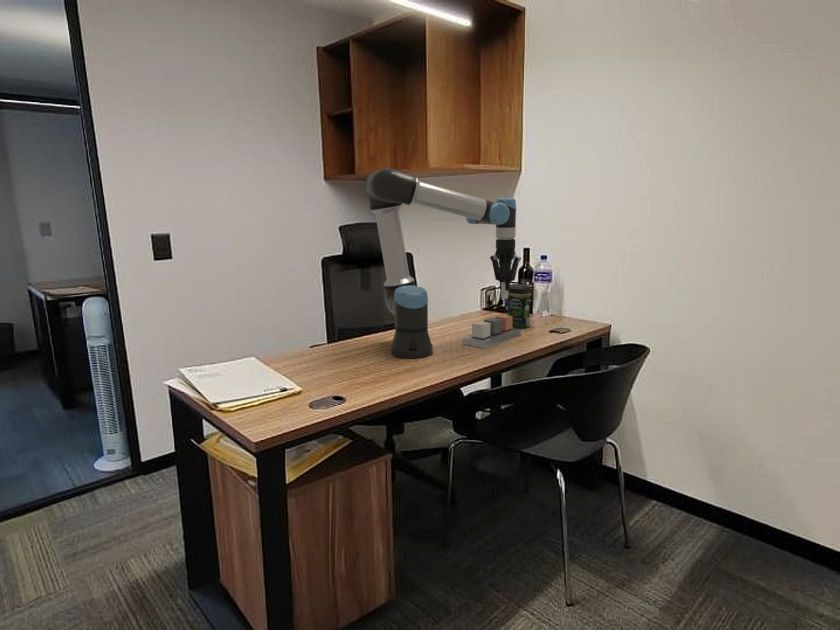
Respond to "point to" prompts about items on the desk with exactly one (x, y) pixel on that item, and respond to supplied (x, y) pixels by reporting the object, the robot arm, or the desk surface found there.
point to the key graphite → (494, 325)
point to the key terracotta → (505, 321)
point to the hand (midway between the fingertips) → (504, 298)
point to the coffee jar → (519, 305)
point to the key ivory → (480, 329)
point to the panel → (491, 338)
